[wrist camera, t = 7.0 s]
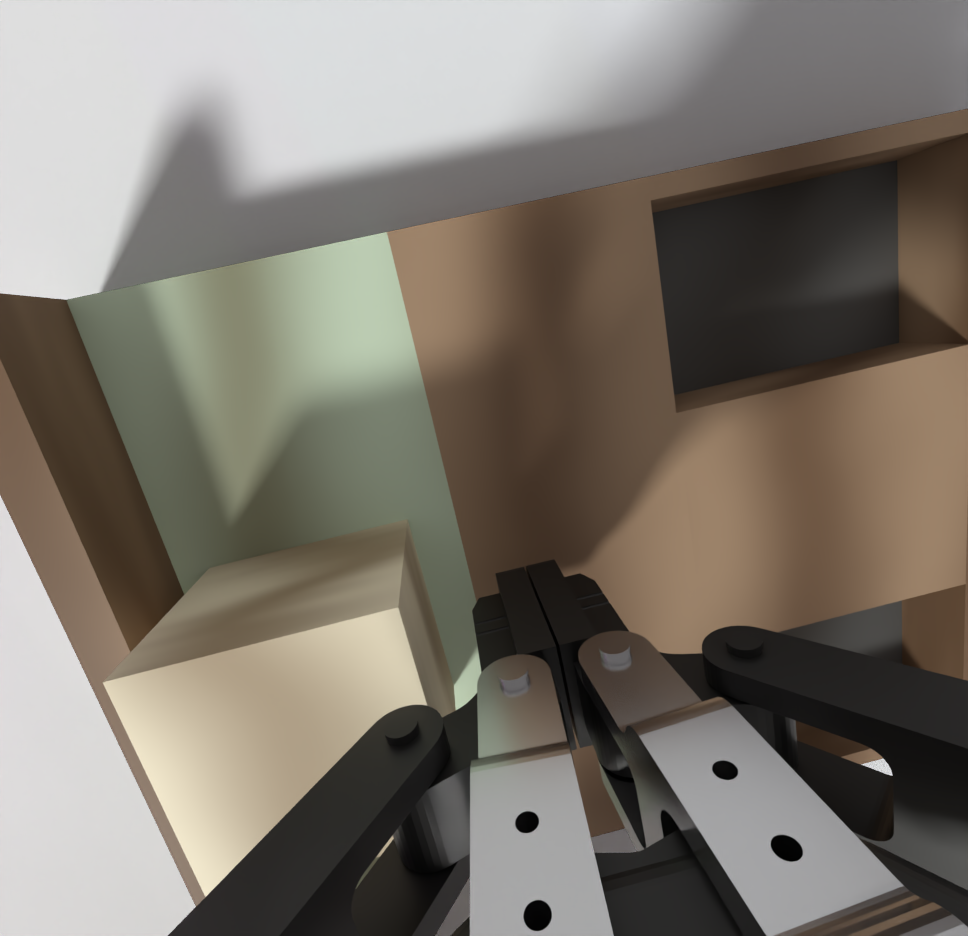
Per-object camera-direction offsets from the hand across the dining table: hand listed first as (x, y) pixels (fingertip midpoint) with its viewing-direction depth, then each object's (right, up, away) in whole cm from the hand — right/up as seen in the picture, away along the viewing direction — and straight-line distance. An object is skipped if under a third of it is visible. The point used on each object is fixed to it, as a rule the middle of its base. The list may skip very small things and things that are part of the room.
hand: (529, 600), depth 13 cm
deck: (+2, +1, +4) cm, 4 cm away
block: (-5, -1, +1) cm, 5 cm away
